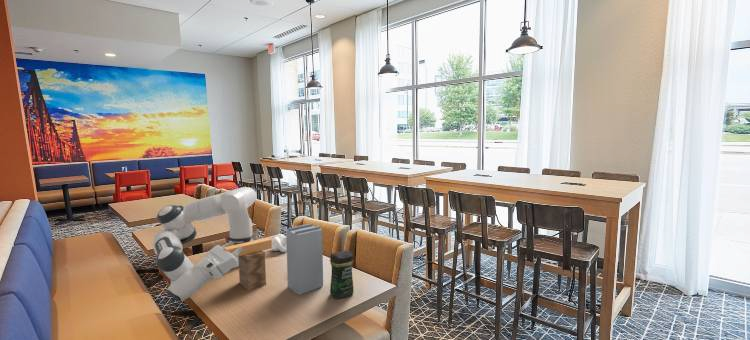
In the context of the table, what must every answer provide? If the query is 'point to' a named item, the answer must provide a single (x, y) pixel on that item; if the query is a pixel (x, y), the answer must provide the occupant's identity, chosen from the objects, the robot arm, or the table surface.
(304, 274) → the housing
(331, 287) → the coffee jar
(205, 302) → the table surface
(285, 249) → the crumpled paper ball
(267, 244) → the tan wooden bar
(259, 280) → the brown piece
